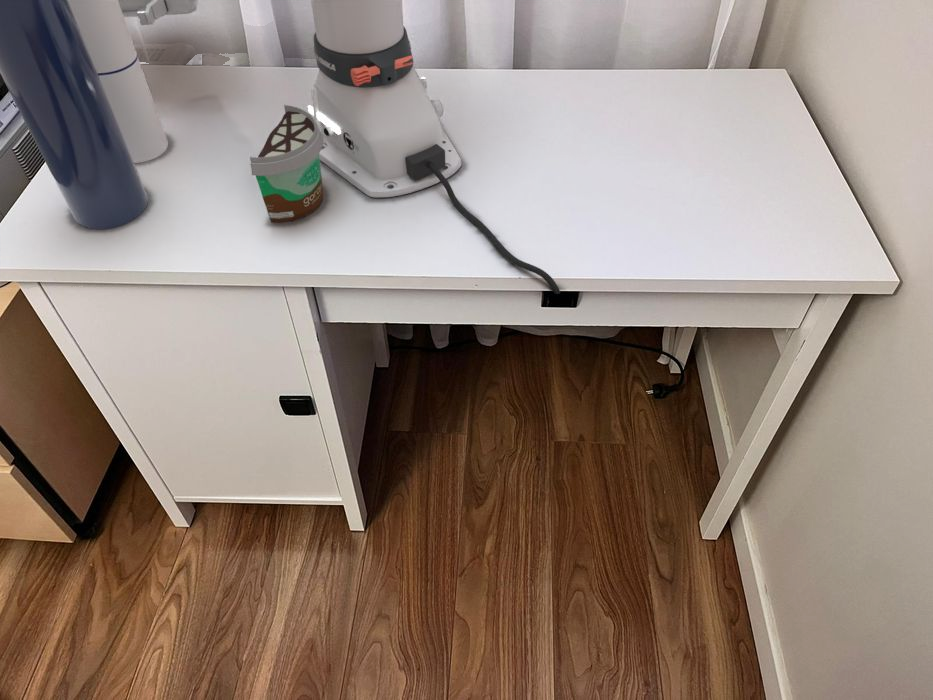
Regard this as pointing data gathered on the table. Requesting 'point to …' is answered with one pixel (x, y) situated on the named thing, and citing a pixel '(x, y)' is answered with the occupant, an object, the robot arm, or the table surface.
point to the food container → (291, 167)
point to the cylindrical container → (121, 76)
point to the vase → (68, 112)
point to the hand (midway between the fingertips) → (106, 21)
